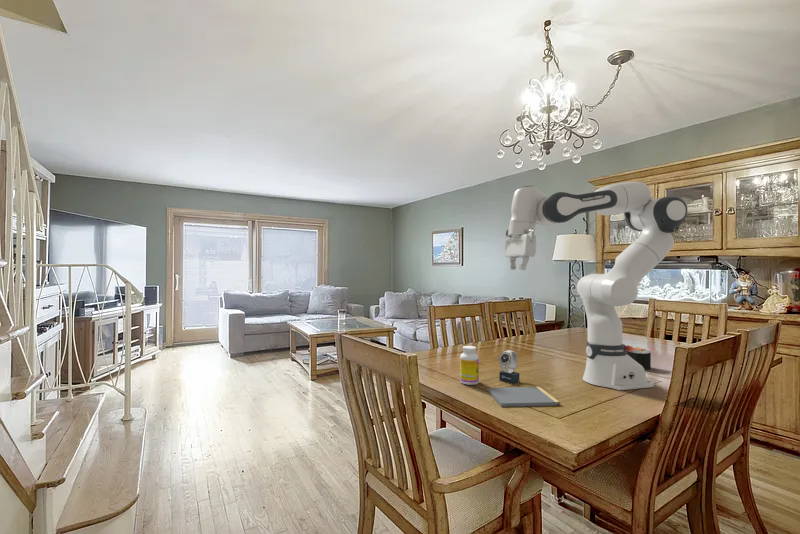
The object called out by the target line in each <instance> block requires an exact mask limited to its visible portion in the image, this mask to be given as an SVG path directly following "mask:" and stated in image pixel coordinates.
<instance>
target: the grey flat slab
mask: <svg viewBox="0 0 800 534" xmlns="http://www.w3.org/2000/svg"><path fill="white" fill-rule="evenodd" d="M487 392H488V394H490V395H491V397H492V396H493V397H492V398H493V399H494V401H496V403H498V405H499V406H500V407H502V408H503V407H504V408H505V407H508V406H511V407H546V406H553V407H555V406H561V402H560V401H559V400H558V399H557V398H555V397H554V396H553V395H552V394H550V393H549V392H547V391H546V390H545V389H543V388H542V387H541V386H524V387H523V386H518V387H516V386H515V387H513V386H512V387H511V386H510V387H487Z"/></svg>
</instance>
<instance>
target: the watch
mask: <svg viewBox="0 0 800 534" xmlns="http://www.w3.org/2000/svg"><path fill="white" fill-rule="evenodd" d="M518 361H519V359H518V354H517V352H516V351H514V350H509V349H506V350H505V351H503V352H502V353H500V354H499V357H498V363H499V366H500V368H501V370H500V371H499V375H498V376H499V381H500V380H501V382H503V381H505V383H507V382H509V383H508V384H511V383H512V384H511V385H513V383H514V384H516V382H517V383H519V382H520V373H519V372H516V370H517V366H518ZM508 368H509V369H508ZM518 381H519V382H518Z"/></svg>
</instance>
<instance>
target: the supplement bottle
mask: <svg viewBox="0 0 800 534" xmlns="http://www.w3.org/2000/svg"><path fill="white" fill-rule="evenodd" d="M462 351H463V352H462V353H461V354H460V356H459V381H460V383H461V384H463V385H465V384H466V386H475V385H477V384H479V380H480V379H479V377H480V375H479V374H480V373H479V372H480V367H479V365H480V364H479V363H480V362H479V361H480V360H479V359H480V357H479V355H478V354H477V353H476V352H477V347H476V346H474V345H473V346H472V345H463V346H462Z"/></svg>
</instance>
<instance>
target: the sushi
mask: <svg viewBox="0 0 800 534" xmlns="http://www.w3.org/2000/svg"><path fill="white" fill-rule="evenodd" d="M633 350H634V351H633V352H629V351H627V350H626V351H627V355H629V356H630V357H631V358H632V359H634V360H635V361H636V362H638V363H639V364H640V365H642V366H643V368H644V370H645V371H650V370H652V369H651V368H652V367H651V366H652V365H651V363H652V361H651V360H652V351H651V350H649V349H647V348H643V347H639V346H638V347H633Z"/></svg>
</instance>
